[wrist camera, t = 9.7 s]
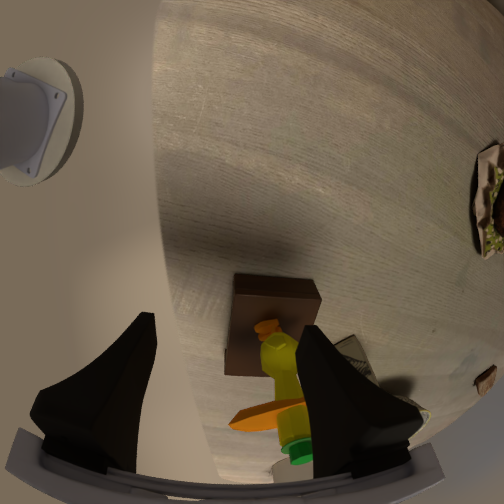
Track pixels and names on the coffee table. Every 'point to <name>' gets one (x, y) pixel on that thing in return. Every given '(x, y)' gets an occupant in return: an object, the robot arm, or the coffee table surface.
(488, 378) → the notched wooden chunk
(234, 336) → the brown square plinth
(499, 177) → the bear figurine
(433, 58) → the coffee table surface
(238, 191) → the coffee table surface
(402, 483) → the robot arm
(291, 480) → the canister
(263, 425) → the toy figure
